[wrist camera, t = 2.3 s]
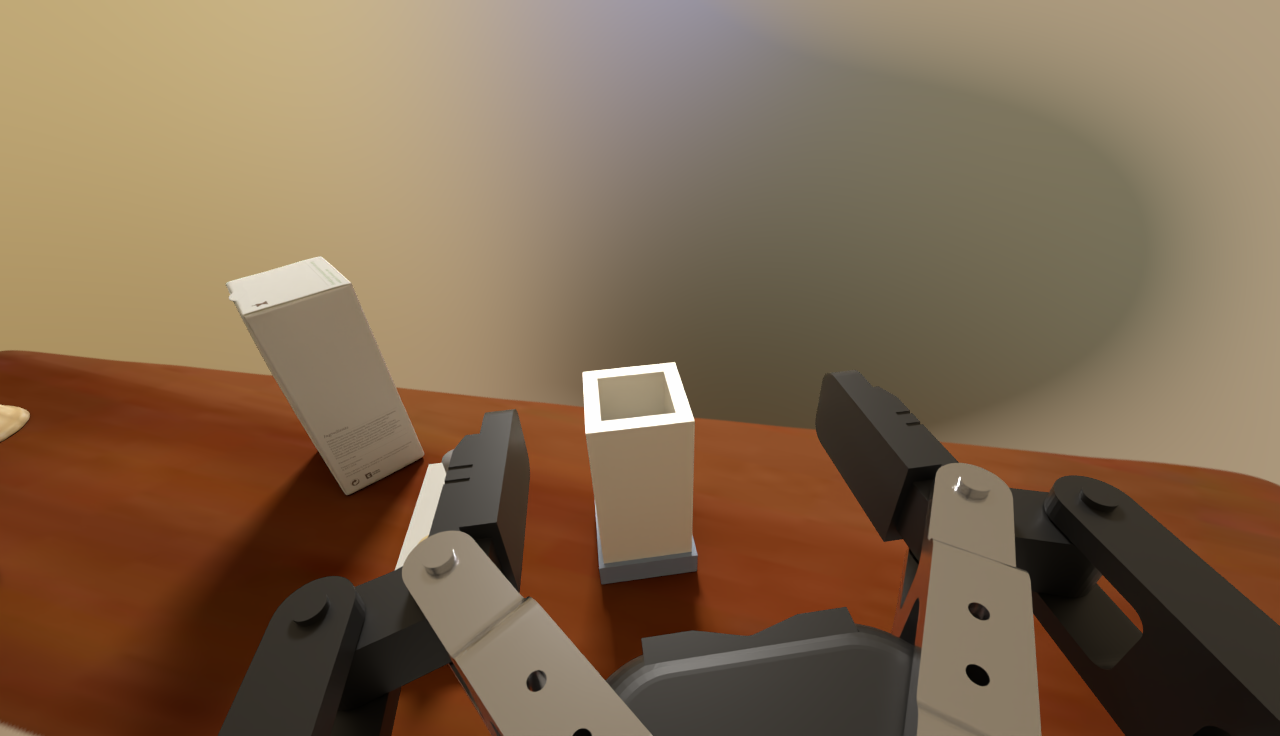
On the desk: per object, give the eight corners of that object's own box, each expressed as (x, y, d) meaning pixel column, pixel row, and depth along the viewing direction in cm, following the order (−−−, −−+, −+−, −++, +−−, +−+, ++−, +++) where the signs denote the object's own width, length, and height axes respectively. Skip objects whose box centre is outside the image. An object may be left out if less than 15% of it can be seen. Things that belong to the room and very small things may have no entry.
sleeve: (697, 571, 31) (701, 424, 24) (601, 584, 30) (579, 438, 24) (678, 497, 36) (678, 359, 29) (596, 508, 35) (577, 369, 29)
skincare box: (427, 458, 41) (358, 282, 32) (341, 502, 37) (237, 318, 28) (391, 412, 46) (324, 251, 37) (313, 447, 42) (219, 277, 34)
